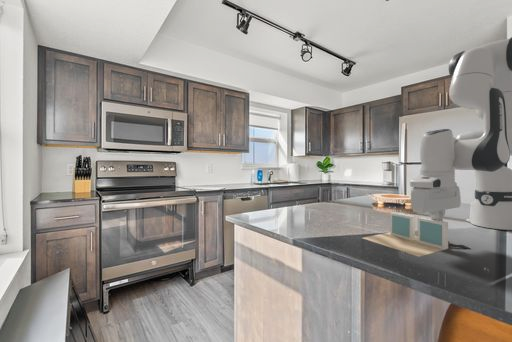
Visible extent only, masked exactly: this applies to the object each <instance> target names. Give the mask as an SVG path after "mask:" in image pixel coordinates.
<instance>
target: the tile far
mask: <svg viewBox="0 0 512 342" xmlns="http://www.w3.org/2000/svg"><path fill="white" fill-rule="evenodd" d="M389 216H390V217H389V221H390V222H389V223H390V224H389V227H390V230H389V232H390V234H391V235H394V236H398V237H402V238H405V239H409V240H415V236H416V216H415V215H411V214H404V213H399V212H395V211H394V212H393V211H392V212H390V213H389Z"/></svg>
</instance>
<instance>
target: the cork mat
mask: <svg viewBox="0 0 512 342" xmlns="http://www.w3.org/2000/svg"><path fill="white" fill-rule="evenodd" d="M362 239H363V240H367V241H369V242H372V243H375V244H378V245H381V246H385V247H387V248H390V249H394V250H397V251H399V252H400V251H401V252H403V253H406V254H409V255H411V256H415V257H418V258H420V257H424V256H427V255H430V254H434V253H438V252H442V251H445V250H446V249H442V248H438V247H434V246H431V245H427V244H423V243H420V242H418V235H415V240H409V239H405V238H402V237H398V236H394V235H391V234H390V231H389V232H385V233H384V232H383V233H380V234H374V235H369V236H364V237H362ZM452 248H454V247H453V246H448V249H452ZM448 249H447V250H448Z"/></svg>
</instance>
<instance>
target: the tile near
mask: <svg viewBox="0 0 512 342" xmlns="http://www.w3.org/2000/svg"><path fill="white" fill-rule="evenodd" d="M417 236H418V242H420V243H423V244H427V245H431V246H434V247H438V248H442V249H445V250H448V241H449V222H448V221H444V220H443V221H438V220H433V219H431V218H426V217H422V216H421V217H420V216H419V217H417Z"/></svg>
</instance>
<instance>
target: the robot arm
mask: <svg viewBox="0 0 512 342" xmlns="http://www.w3.org/2000/svg"><path fill="white" fill-rule="evenodd" d="M448 74H449V76H450V78H451V81H450V86H449V89H448V90H449V91H448V95H449V99H450V101H451V102H452V103H453V104H455V105H456V106H458V107H460V108H464V109H467V110H475V114H476V116H477V118H480V119H481V120H483V129H476V130H470V131H466V132H461V133H458V134H457V136H456V137H454V134H453V131H452V129H449V128H442V129H436V130H435V129H434V130H429V131H426V132H424V133H423V134H422V136H421V140H420V149H419V150H420V151H419V159H420V162H421V166H420V170H419V174H418V175H417V176H415V177H414V178H413V179H411V180H410V182H409V183H410V184H409V185H410V187H411V191H410V208H411V210H412V211H413V212H414V213H417V214H418V213H419V214H425V213H426V214H427V213H428V215H429V218H430V219H433V220H438V221H444V217H445V215H446V210H451V209H458V208H460V206H461V204H462V200H461V191H460V187H459V186H458V184H457V182H456V179H455V177H456V176H455V175H456V172H455V171H456V170H459V171H474V174H475V188H476V189H475V190H474V201H472V202H471V203H470V212H469V218H466V220H465V221H466V222H468V223H470V224H472V225H474V226H478V227H482V228H487V229H495V230H506V231H512V169H511V168H509V167H508V166H506V164H508V162H510V157H511V156H512V36H511V37H510V38H505V39H499V40H496V41H492V42H487V43H485V44H483V45H479V46H477V47H476V46H475V47H473V48H470V49H467V50H463V51H460V52H458V53H456V54H455V55H453V56H452V57H451V58H450V60H449V63H448Z"/></svg>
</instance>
